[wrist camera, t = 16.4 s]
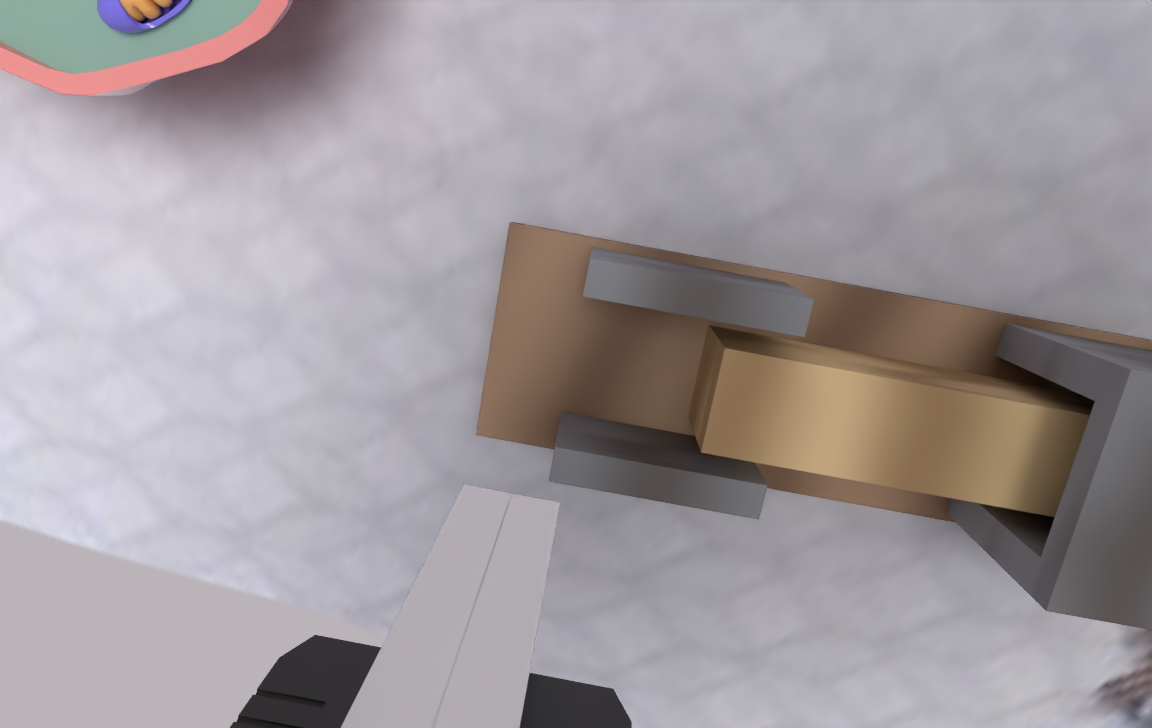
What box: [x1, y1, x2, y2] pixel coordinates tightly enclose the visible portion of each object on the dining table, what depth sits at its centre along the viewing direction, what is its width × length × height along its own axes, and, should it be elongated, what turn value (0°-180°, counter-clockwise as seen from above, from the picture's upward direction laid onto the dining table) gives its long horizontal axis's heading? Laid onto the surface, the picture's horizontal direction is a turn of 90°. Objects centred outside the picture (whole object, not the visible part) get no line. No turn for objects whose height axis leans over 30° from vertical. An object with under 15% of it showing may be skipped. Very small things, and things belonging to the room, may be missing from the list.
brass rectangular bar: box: [688, 325, 1095, 517], centre depth 28 cm, size 14×4×4 cm, turn 80°
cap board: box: [476, 222, 1152, 630], centre depth 26 cm, size 24×8×8 cm, turn 80°
